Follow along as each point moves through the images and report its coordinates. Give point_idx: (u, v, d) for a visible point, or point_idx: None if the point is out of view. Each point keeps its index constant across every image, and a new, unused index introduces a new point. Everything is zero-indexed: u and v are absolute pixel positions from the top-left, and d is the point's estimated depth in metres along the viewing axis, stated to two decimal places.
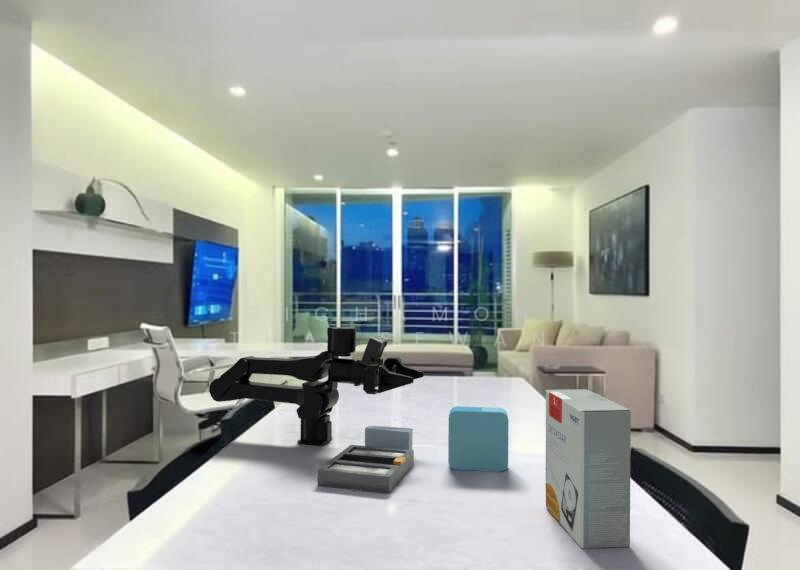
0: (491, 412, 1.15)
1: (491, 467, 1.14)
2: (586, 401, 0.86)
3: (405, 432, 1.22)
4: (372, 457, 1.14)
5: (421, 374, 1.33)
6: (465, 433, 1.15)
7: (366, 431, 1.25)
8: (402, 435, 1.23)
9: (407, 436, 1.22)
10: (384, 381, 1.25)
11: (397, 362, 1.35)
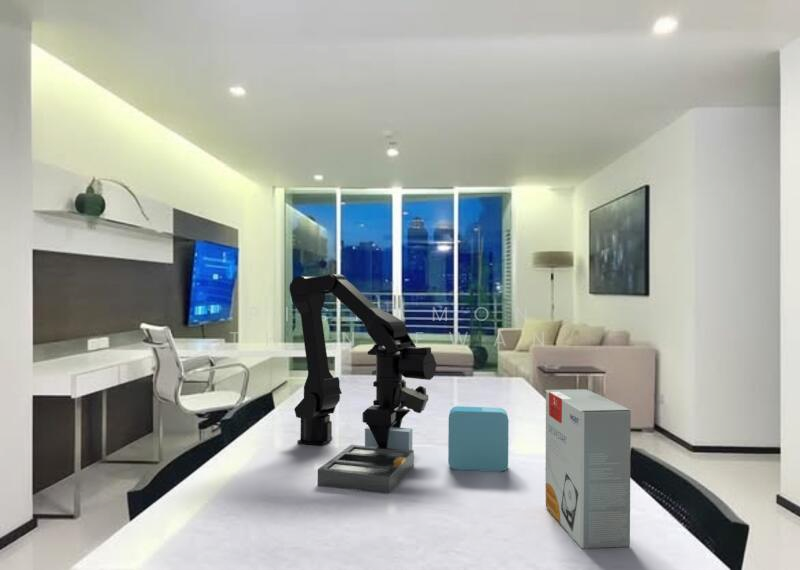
0: (491, 412, 1.15)
1: (491, 467, 1.14)
2: (586, 401, 0.86)
3: (405, 432, 1.22)
4: (372, 457, 1.14)
5: None
6: (465, 433, 1.15)
7: (366, 431, 1.25)
8: (402, 435, 1.23)
9: (407, 436, 1.22)
10: None
11: (404, 413, 1.29)
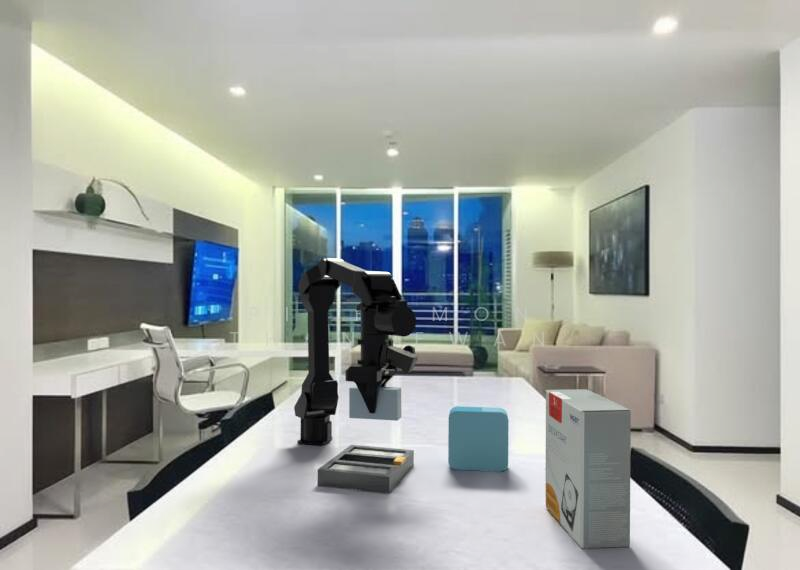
0: (491, 412, 1.15)
1: (491, 467, 1.14)
2: (586, 401, 0.86)
3: (393, 390, 1.12)
4: (372, 457, 1.14)
5: None
6: (465, 433, 1.15)
7: (351, 391, 1.14)
8: (390, 393, 1.12)
9: (395, 394, 1.12)
10: (367, 382, 1.12)
11: (388, 377, 1.16)
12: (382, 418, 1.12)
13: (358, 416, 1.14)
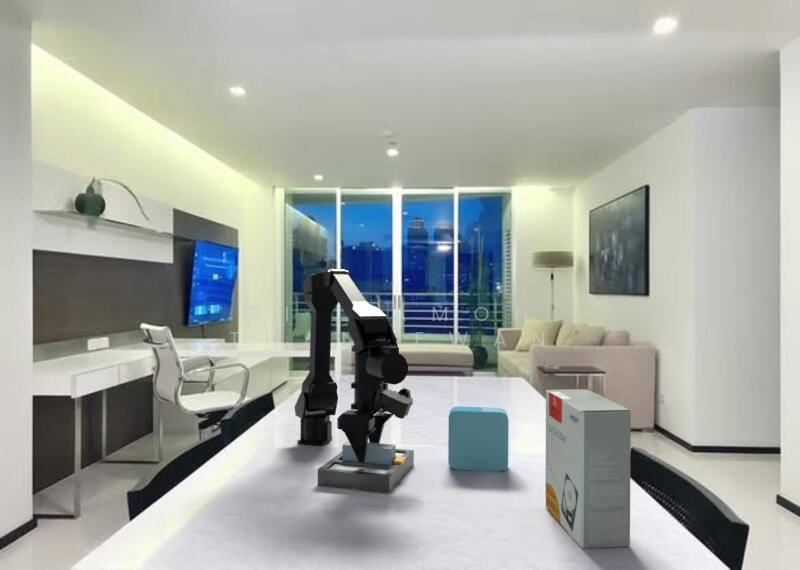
0: (491, 412, 1.15)
1: (491, 467, 1.14)
2: (586, 401, 0.86)
3: (387, 449, 1.10)
4: None
5: None
6: (465, 433, 1.15)
7: (344, 448, 1.12)
8: (384, 452, 1.10)
9: (389, 453, 1.09)
10: None
11: (386, 418, 1.16)
12: None
13: None
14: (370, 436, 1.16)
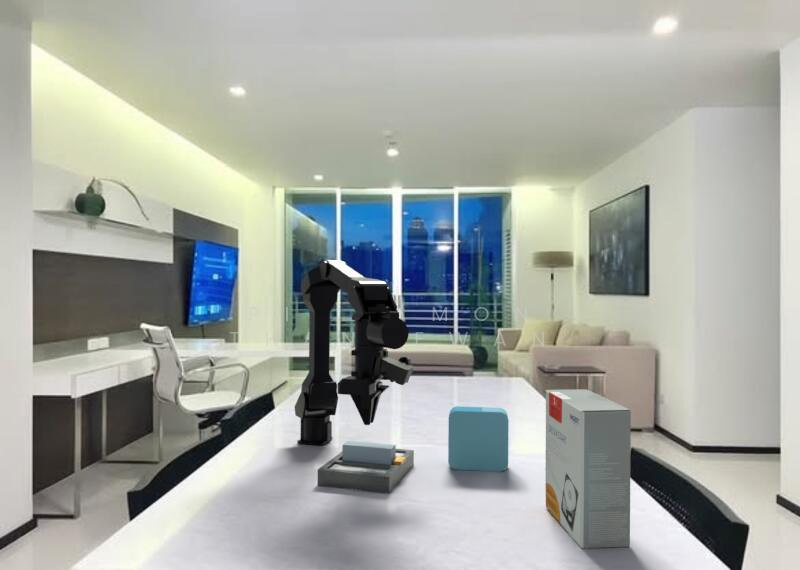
0: (491, 412, 1.15)
1: (491, 467, 1.14)
2: (586, 401, 0.86)
3: (387, 449, 1.10)
4: None
5: None
6: (465, 433, 1.15)
7: (344, 447, 1.12)
8: (384, 452, 1.10)
9: (389, 453, 1.09)
10: None
11: (382, 389, 1.13)
12: None
13: None
14: None
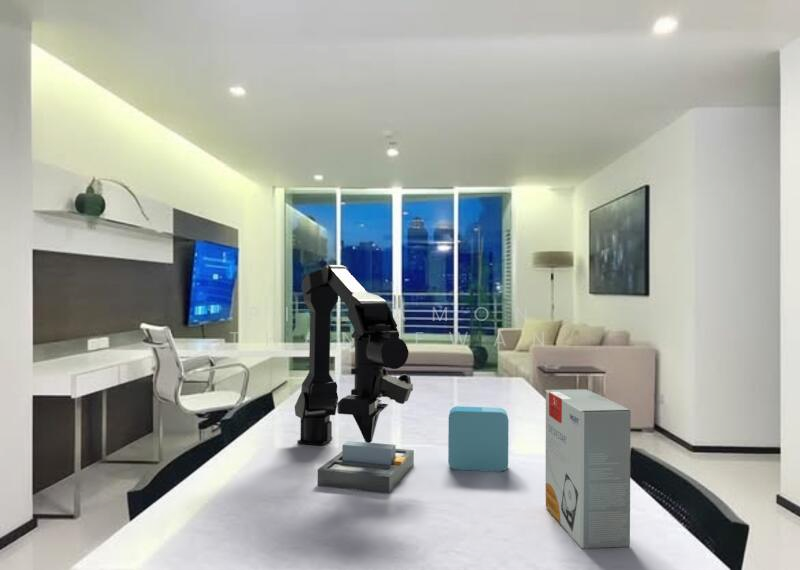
0: (491, 412, 1.15)
1: (491, 467, 1.14)
2: (586, 401, 0.86)
3: (387, 449, 1.10)
4: None
5: None
6: (465, 433, 1.15)
7: (344, 448, 1.12)
8: (384, 452, 1.10)
9: (389, 453, 1.09)
10: None
11: (380, 408, 1.12)
12: None
13: None
14: None
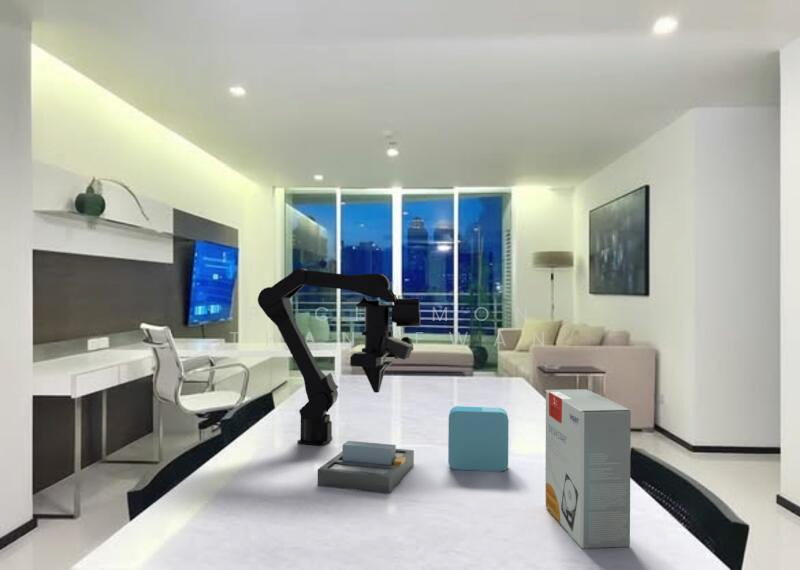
0: (491, 412, 1.15)
1: (491, 467, 1.14)
2: (586, 401, 0.86)
3: (387, 449, 1.10)
4: None
5: None
6: (465, 433, 1.15)
7: (344, 447, 1.12)
8: (384, 452, 1.10)
9: (389, 453, 1.09)
10: (372, 366, 1.34)
11: (386, 364, 1.35)
12: None
13: None
14: None
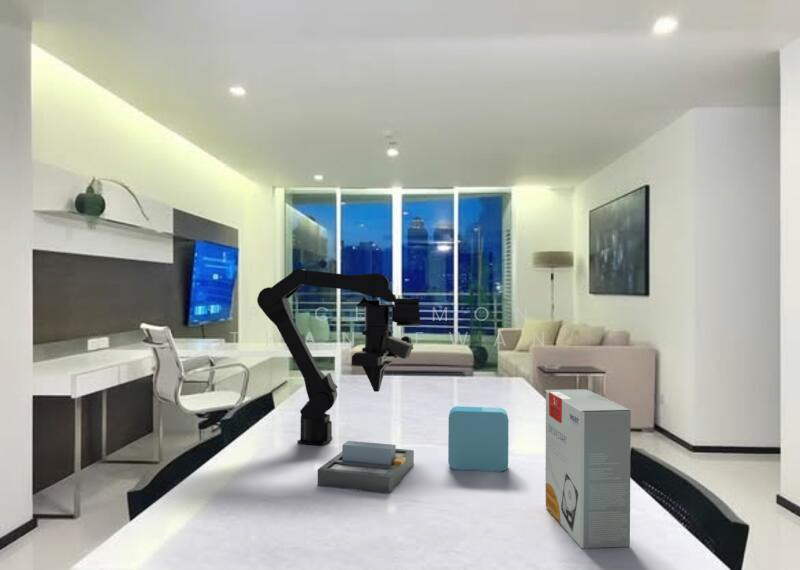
0: (491, 412, 1.15)
1: (491, 467, 1.14)
2: (586, 401, 0.86)
3: (387, 449, 1.10)
4: None
5: None
6: (465, 433, 1.15)
7: (344, 448, 1.12)
8: (384, 452, 1.10)
9: (389, 454, 1.09)
10: (372, 366, 1.35)
11: (386, 363, 1.36)
12: None
13: None
14: None
